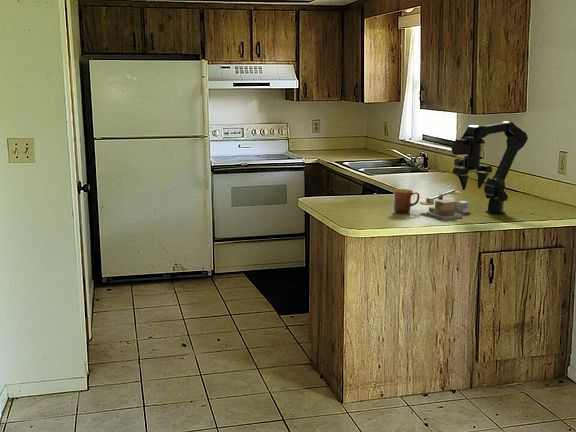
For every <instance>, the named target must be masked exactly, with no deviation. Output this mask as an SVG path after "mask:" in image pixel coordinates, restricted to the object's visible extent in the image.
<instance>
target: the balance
mask: <svg viewBox="0 0 576 432" xmlns="http://www.w3.org/2000/svg"><path fill="white" fill-rule="evenodd" d="M461 194H462V192H461V191H459V190H455V189H452V190H447V191H446V192H444V193H439V194H437V195H436V196H433V197H431V196H430V197H426V198H425V199H426V200H422V201H419V204H420V205H423V206H429V207H428V211H429V212H435V200H444V196H448V195H452V196H453V195H456V196H457V195H461ZM432 205H433V206H432ZM431 206H432V207H431Z"/></svg>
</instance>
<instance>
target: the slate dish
mask: <svg viewBox="0 0 576 432" xmlns="http://www.w3.org/2000/svg"><path fill="white" fill-rule="evenodd" d="M425 214H426V217H430V218H433V219H436V220H437V219H438V220H441V221H448V220H455V219H463V214H461V213H456V212H454V215H451V216H441V215H437V214H435V212H432V211H429V212H427V211H426V213H425Z"/></svg>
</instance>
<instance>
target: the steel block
mask: <svg viewBox="0 0 576 432" xmlns="http://www.w3.org/2000/svg"><path fill="white" fill-rule="evenodd" d="M454 202H455V209H454V213H458V214H462V215H464V214H467V213H470V201H468V200H461V199H459V200H455V201H454Z"/></svg>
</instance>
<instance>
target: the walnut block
mask: <svg viewBox="0 0 576 432" xmlns="http://www.w3.org/2000/svg"><path fill="white" fill-rule="evenodd" d="M434 207H435V214H437V215H441V216H451V215H454V213H455V212H454V209H455V202H454V201H453V200H450V199H443V200H438V199H435V200H434Z"/></svg>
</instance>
